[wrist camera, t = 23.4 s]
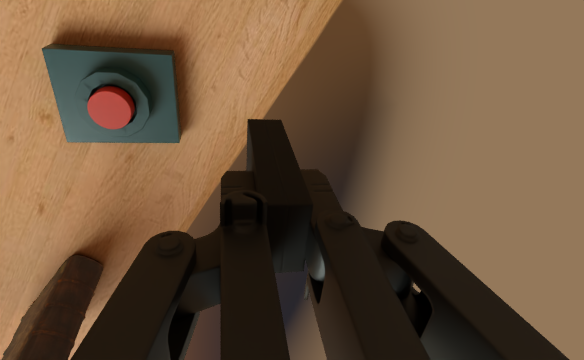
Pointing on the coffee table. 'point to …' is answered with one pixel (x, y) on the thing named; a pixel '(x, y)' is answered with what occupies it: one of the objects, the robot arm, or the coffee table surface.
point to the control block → (123, 74)
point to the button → (111, 107)
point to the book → (56, 313)
